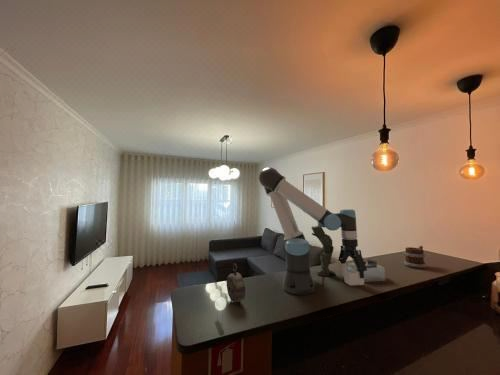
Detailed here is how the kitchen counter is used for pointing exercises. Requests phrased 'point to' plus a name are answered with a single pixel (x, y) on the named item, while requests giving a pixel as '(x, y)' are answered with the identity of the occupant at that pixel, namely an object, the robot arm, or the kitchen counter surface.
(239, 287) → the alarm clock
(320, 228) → the mechanical leg
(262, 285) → the kitchen counter surface
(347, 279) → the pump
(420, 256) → the chocolate layer cake
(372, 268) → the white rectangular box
